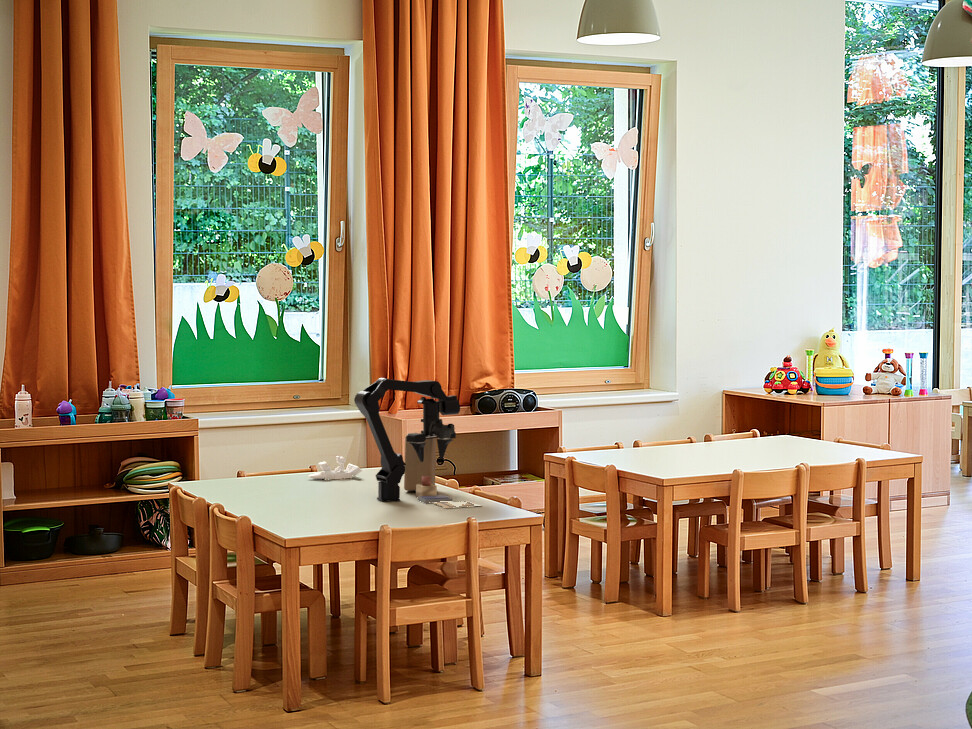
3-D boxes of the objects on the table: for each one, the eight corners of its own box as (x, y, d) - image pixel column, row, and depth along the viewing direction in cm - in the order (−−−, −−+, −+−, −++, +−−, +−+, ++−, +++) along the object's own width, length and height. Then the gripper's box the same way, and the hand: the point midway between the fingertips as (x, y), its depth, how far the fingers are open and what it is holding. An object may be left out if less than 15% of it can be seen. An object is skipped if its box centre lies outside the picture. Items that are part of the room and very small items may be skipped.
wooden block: (435, 489, 416) (436, 434, 416) (431, 491, 406) (432, 435, 406) (408, 489, 417) (409, 434, 417) (403, 490, 407) (404, 434, 408)
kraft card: (446, 509, 374) (446, 507, 374) (433, 503, 384) (433, 502, 384) (482, 506, 380) (482, 505, 380) (468, 501, 390) (468, 500, 390)
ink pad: (425, 503, 385) (425, 499, 384) (417, 500, 391) (417, 496, 391) (452, 501, 389) (452, 497, 389) (444, 498, 395) (444, 494, 395)
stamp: (421, 499, 393) (421, 478, 393) (416, 497, 398) (416, 475, 398) (436, 498, 396) (436, 477, 395) (430, 496, 401) (430, 475, 400)
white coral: (303, 478, 442) (303, 455, 442) (353, 475, 450) (353, 453, 450) (312, 482, 432) (312, 459, 432) (362, 479, 440) (362, 456, 440)
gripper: (426, 419, 386) (427, 465, 387) (466, 415, 400) (466, 459, 400) (405, 417, 394) (405, 462, 395) (444, 413, 407) (445, 457, 408)
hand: (431, 460), depth 400 cm, fingers open, 9 cm apart
